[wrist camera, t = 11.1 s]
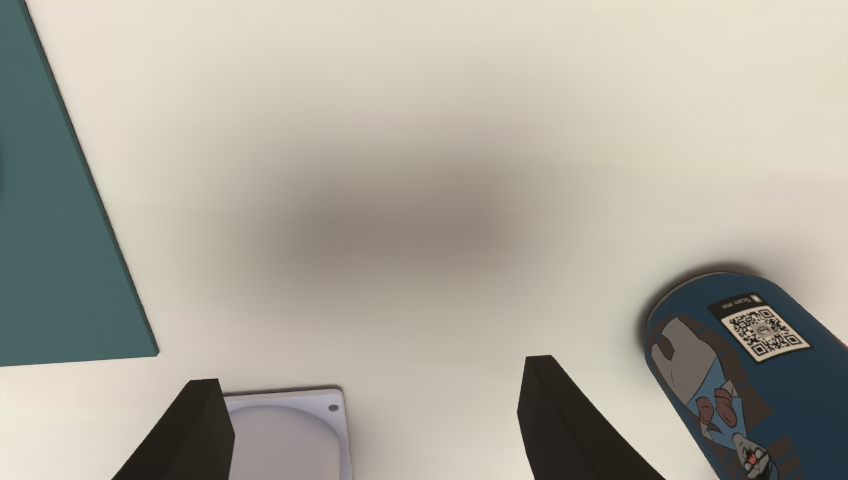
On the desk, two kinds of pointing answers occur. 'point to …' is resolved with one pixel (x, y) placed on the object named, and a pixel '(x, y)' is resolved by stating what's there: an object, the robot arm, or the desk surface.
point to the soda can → (752, 378)
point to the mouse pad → (54, 225)
